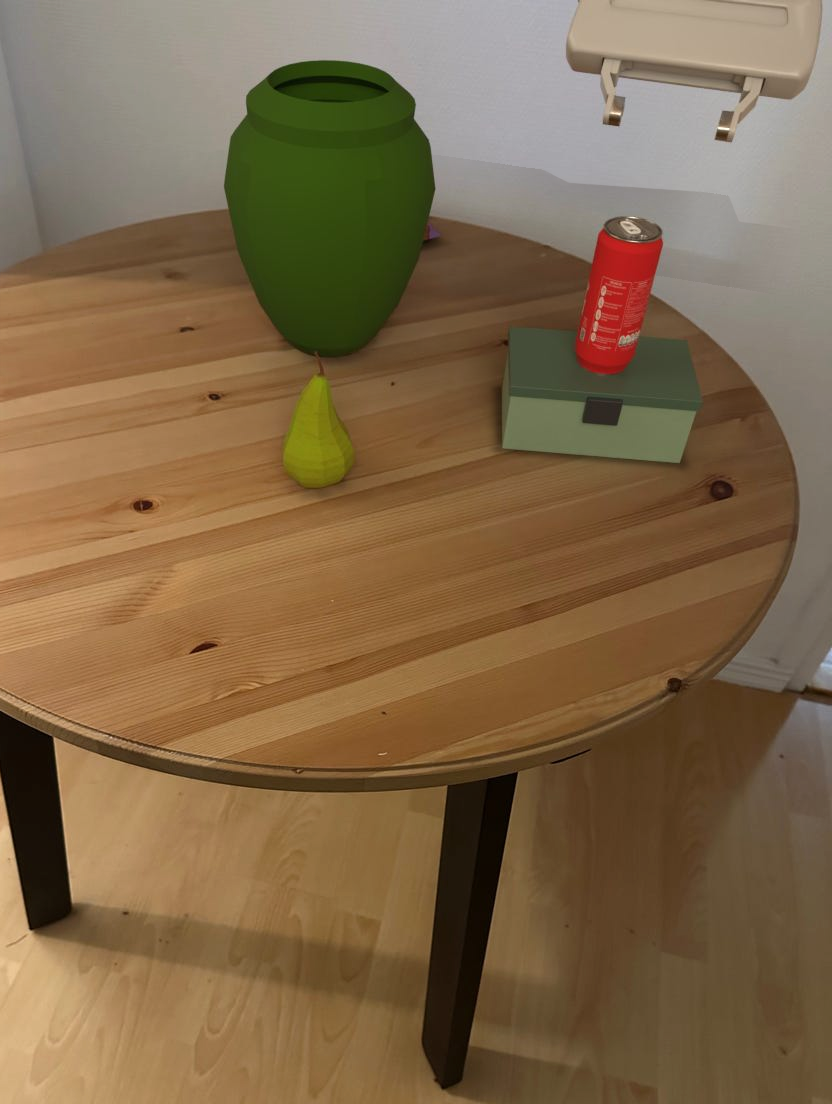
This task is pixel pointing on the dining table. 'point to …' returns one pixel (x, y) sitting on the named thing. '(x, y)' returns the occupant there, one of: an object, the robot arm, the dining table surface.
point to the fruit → (317, 438)
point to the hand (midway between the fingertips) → (666, 130)
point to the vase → (329, 200)
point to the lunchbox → (597, 399)
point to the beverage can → (617, 293)
